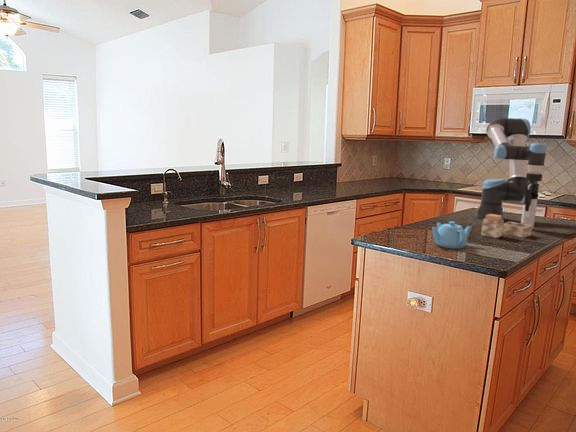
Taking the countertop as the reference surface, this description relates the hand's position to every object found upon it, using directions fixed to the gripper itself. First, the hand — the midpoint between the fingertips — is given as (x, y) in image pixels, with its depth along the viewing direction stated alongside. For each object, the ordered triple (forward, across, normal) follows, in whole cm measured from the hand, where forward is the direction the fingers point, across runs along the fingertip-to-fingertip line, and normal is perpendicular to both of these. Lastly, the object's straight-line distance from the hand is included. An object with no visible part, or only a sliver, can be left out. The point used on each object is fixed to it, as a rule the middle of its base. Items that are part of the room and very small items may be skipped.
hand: (528, 216), depth 248 cm
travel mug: (+7, 0, 0) cm, 7 cm away
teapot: (+7, -69, +11) cm, 70 cm away
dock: (+7, -26, +2) cm, 27 cm away
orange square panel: (0, -33, +6) cm, 34 cm away
